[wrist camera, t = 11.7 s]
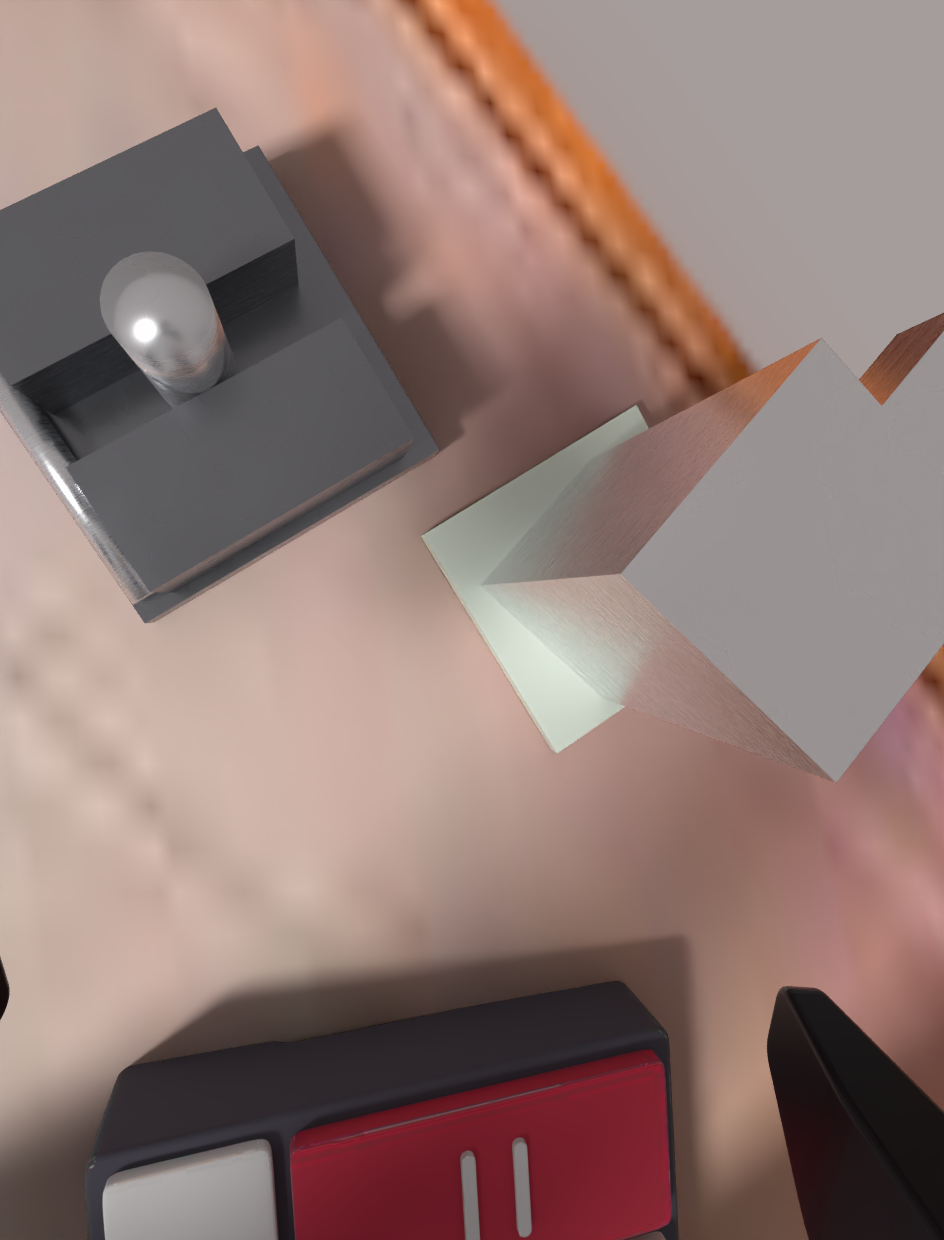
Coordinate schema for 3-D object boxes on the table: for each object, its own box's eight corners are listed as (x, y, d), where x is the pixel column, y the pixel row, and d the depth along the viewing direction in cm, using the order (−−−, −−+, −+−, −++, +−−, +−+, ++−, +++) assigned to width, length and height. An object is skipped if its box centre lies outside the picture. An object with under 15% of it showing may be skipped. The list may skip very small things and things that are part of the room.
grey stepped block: (602, 698, 21) (836, 782, 12) (480, 585, 20) (620, 573, 11) (753, 516, 22) (1092, 451, 12) (642, 400, 21) (910, 232, 12)
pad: (550, 749, 22) (557, 753, 21) (420, 536, 21) (423, 534, 20) (742, 618, 23) (753, 618, 22) (627, 410, 22) (636, 405, 21)
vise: (154, 622, 19) (78, 632, 13) (-50, 322, 18) (-231, 189, 12) (434, 456, 21) (476, 400, 15) (261, 167, 20) (234, -17, 14)
